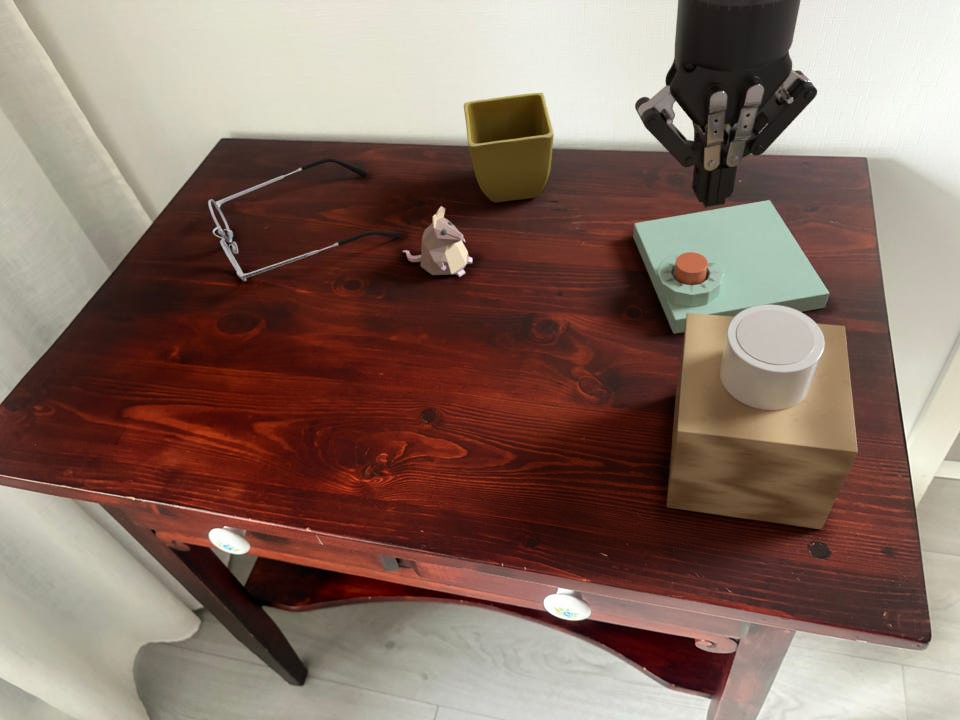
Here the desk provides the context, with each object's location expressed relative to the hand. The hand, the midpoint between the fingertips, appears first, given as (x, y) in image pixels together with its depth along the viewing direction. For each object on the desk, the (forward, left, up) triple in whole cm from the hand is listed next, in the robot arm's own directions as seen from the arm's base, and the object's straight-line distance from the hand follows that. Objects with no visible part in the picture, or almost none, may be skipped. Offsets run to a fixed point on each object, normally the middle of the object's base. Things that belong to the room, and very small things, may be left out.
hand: (711, 200), depth 60 cm
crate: (-12, +10, -13) cm, 20 cm away
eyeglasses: (+40, +16, -13) cm, 45 cm away
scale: (+1, -7, -13) cm, 15 cm away
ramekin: (-12, +10, -3) cm, 16 cm away
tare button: (+2, -1, -10) cm, 10 cm away
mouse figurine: (+25, +10, -13) cm, 30 cm away
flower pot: (+27, -4, -13) cm, 30 cm away
